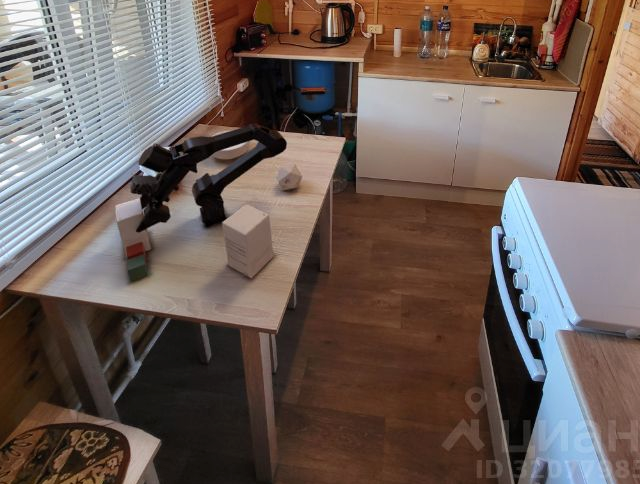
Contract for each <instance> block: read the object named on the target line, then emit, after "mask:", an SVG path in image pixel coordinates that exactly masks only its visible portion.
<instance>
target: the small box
mask: <svg viewBox="0 0 640 484" xmlns="http://www.w3.org/2000/svg"><path fill="white" fill-rule="evenodd" d="M114 207H115V220H116V223H117V224H116V225H117V228H118V232H119V236H120V240H121V242H122V246H123V250H124V254H125V259H127V253H126V247H128V246H131V245H134V244H137V243H140V242H143V246H144V250H145V252H148V251H150V250H151V249H152V246H151V242H150V238H149V232H148V228H147V229H145V230H143V231H142V232H140V233H138V232H136V229H137V227H138V226H139V224H140V222H141V221H142V219H143V217H144V209H143V210H142V206H141V201H140V197H139V198H136V199H132V200H129V201H125V202H122V203H119V204H116V205H115V206H114Z"/></svg>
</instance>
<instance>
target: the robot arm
mask: <svg viewBox="0 0 640 484" xmlns="http://www.w3.org/2000/svg"><path fill="white" fill-rule="evenodd" d="M228 131H229V130H228ZM248 141H250V142H251V141H256V142H257V143H256V145H255V146H254V147H253V148H252V149H250V150H248V152H247V151H246V152H245V153H244V154H242V155H241V156H239V158H238V159H236V160H235V161H234V162H232V163H230V164H229V165H227V166H226V167H225V168H223V169H222V170H221V171H219V172H218V173H215V174H212V175H210V173H208V172H206V173H205V174H203V175H202V176H201V177H200V178H196V179H195V182H194V183H193V184H192V188H191V194H192V196H193V199H194V202H195V204H196V206H198V207H199V213H200V219H201V222H202V224H204V226H205V228H209V227H212V226H215V225H217V224H222V222H224V221H225V220H226V219H227V218H228V217H227V215H226V212H225V211H226V210H225V202H224V198H223V196H222V193H223V192H224V190H225V188H226V187H228V186H229V185H230V184H232V183H233V182H235V181H236V180H237V179H239V178H240V177H241V176H243V175H244V174H245V173H247V172H248V171H250V170H251V169H253V168H254V167H255V166H257V165H258V164H259V163H261V162H262V161H263V160H265V159H266V160H267V159H270V158H275V157H276V156H279V155H281V154H282V153H284V152H285V151H286V149H287V145H288V142H287V140H286V139H285V137H284V136H283V135H282V134H281V133H280V131H278V130H276V129H269V128H268V127H264V126H262V125H259V124H257V123H250V124H249V125H246V126H245V125H244V126H243V127H238V128H236V129H232V131H229V132H226V133H222V134H219V135H216V136H213V135H211V136H205V135H204V136H203V135H202V136H192V137H188V138H186V139H185V140H183V142H181V143H178V144H175V145H172V146H170V147H169V148H168V149H167V148H165V147H163V146H161V145H160V144H159V143H156V142H155V143H153V144H152V145H151V146H149V147H147V148H146V149H145V150H143V152H142V154H141V155H140V157H139V158H138V159H139V160H138V165H139V166H140V167H143V168H145V169H147V170H150V171H153V172H155V173H156V175H155V176H153V175H151V174H148V175H143V174H141V175H139V174H134V175H133V176H132V179H131V183H130V185H129V188H130V194H133V195H138V196H139V198H140V201H141V206H142V210H143V214H144V217H143V219H142V221H141V222H140V224H139V226H138V227H137V229H136V232H138V233H140V232H142V231H143V230H145V229H147V230H148V229H149V228H151V227H152V226H153V227H154V226H155V225H157V224H160V223H161V224H166V223H167V222H168V221H169V220H170V219H171V212H170V211H171V210H170V207H169V206H168V205H167V204H168V203H169V202H170V201H171V196H172V194H173V193H174V192H175V191H176V192H178V191H179V189H180V186H179V185H180V184H181V182H182V181H183V180H184V179H185V178H186V176H187V175H188V174H189V173H190V172H191V173H194V174H197V173H198V167H197V166H198V164H199V163H202V162H203V161H206V160H207V159H210V157H211V156H212V155H213V154H214V153H215V152H218V151H220V150H223V149H227V148H230V147H233V146H236V145H239V144H242V143H245V142H248ZM180 153H181V154H180ZM164 202H165V203H167V204H164Z"/></svg>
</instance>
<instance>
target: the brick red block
mask: <svg viewBox="0 0 640 484" xmlns="http://www.w3.org/2000/svg"><path fill="white" fill-rule="evenodd" d="M126 253H127V258H126V261H127V260H129V259H131V258H134V257H137V256H140V255H142V254H144V257H145V261H146V262H147V257H146V256H147V255H146V251H145V250H144V246H143V242H140V243H137V244H134V245H131V246H128V247H126Z"/></svg>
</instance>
